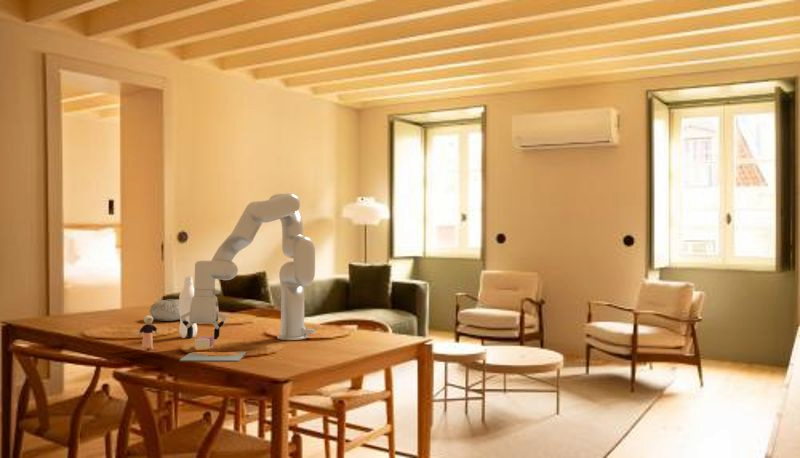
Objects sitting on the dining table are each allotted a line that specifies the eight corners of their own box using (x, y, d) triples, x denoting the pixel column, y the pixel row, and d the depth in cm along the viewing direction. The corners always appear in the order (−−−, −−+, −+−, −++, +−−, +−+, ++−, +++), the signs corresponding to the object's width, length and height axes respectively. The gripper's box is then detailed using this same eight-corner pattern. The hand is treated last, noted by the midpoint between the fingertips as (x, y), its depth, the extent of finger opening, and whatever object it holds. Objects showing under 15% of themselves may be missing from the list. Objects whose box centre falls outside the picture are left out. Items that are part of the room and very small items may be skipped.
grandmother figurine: (142, 351, 236) (143, 317, 236) (136, 350, 238) (136, 316, 238) (160, 348, 243) (160, 314, 243) (154, 347, 245) (154, 313, 245)
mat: (246, 353, 235) (246, 351, 235) (237, 361, 221) (237, 360, 221) (192, 352, 235) (192, 351, 235) (179, 361, 221) (179, 359, 221)
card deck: (214, 346, 248) (214, 335, 248) (208, 350, 240) (208, 339, 240) (201, 346, 248) (201, 335, 248) (194, 350, 240) (194, 339, 240)
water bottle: (191, 339, 262) (191, 277, 261) (175, 338, 263) (175, 277, 263) (200, 336, 269) (200, 276, 268) (184, 335, 270) (185, 275, 270)
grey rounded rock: (143, 322, 301) (143, 301, 301) (157, 317, 319) (157, 297, 319) (181, 323, 302) (181, 301, 301) (193, 317, 319) (193, 297, 319)
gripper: (229, 292, 248) (228, 337, 248) (184, 291, 247) (183, 336, 247) (224, 294, 240) (223, 340, 240) (178, 293, 240) (177, 339, 240)
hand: (203, 338), depth 244 cm, fingers open, 9 cm apart
